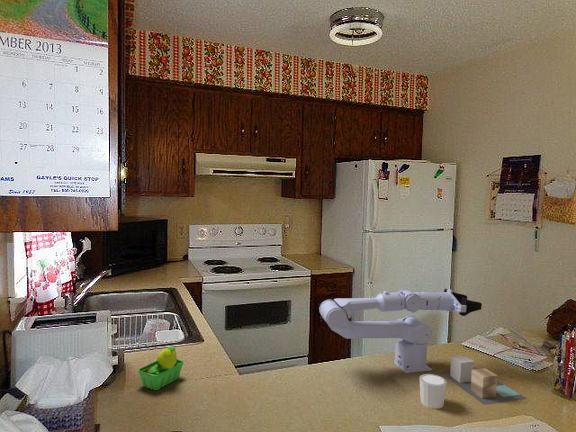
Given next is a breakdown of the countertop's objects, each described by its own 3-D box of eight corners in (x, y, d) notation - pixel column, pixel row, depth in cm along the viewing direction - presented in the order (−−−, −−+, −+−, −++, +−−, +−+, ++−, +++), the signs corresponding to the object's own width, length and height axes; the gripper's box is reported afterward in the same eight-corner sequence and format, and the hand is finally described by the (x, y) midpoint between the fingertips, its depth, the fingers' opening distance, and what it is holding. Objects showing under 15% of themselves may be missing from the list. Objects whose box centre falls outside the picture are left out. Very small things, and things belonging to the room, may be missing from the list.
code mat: (484, 406, 104) (484, 404, 104) (441, 375, 122) (441, 373, 122) (527, 400, 108) (527, 398, 108) (479, 371, 125) (479, 369, 125)
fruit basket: (166, 371, 121) (166, 335, 121) (188, 378, 117) (188, 341, 117) (136, 387, 111) (136, 348, 111) (159, 395, 107) (158, 355, 106)
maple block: (482, 398, 107) (483, 377, 107) (470, 390, 112) (471, 369, 111) (496, 396, 108) (497, 375, 108) (484, 388, 113) (485, 368, 112)
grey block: (460, 382, 116) (461, 363, 116) (450, 375, 120) (451, 356, 120) (473, 381, 117) (473, 361, 117) (462, 374, 121) (463, 355, 121)
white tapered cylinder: (445, 400, 107) (446, 375, 106) (446, 414, 100) (447, 387, 100) (418, 396, 109) (419, 371, 109) (418, 409, 103) (419, 383, 102)
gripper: (448, 296, 119) (489, 297, 121) (425, 283, 133) (461, 284, 136) (446, 318, 120) (486, 319, 122) (422, 303, 134) (459, 304, 136)
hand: (473, 302), depth 129 cm, fingers open, 7 cm apart
